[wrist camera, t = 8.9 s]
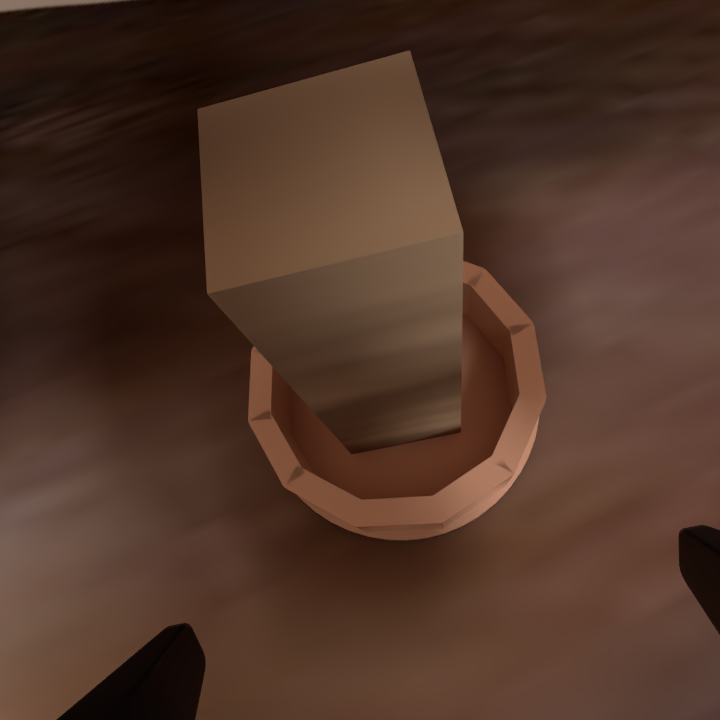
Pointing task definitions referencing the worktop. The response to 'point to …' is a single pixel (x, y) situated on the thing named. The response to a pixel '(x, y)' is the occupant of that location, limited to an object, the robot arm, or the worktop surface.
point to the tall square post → (341, 248)
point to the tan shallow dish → (426, 457)
